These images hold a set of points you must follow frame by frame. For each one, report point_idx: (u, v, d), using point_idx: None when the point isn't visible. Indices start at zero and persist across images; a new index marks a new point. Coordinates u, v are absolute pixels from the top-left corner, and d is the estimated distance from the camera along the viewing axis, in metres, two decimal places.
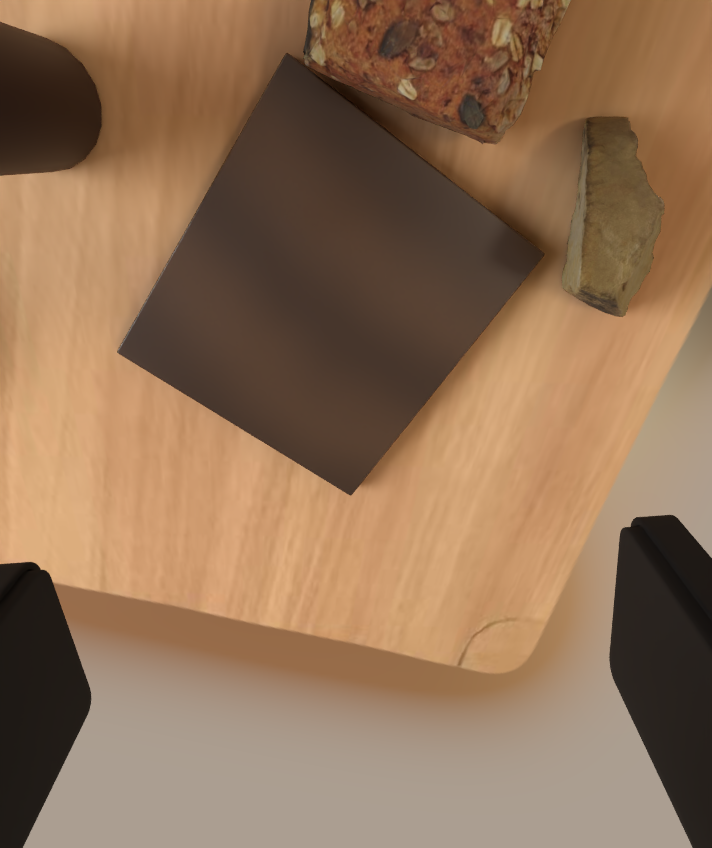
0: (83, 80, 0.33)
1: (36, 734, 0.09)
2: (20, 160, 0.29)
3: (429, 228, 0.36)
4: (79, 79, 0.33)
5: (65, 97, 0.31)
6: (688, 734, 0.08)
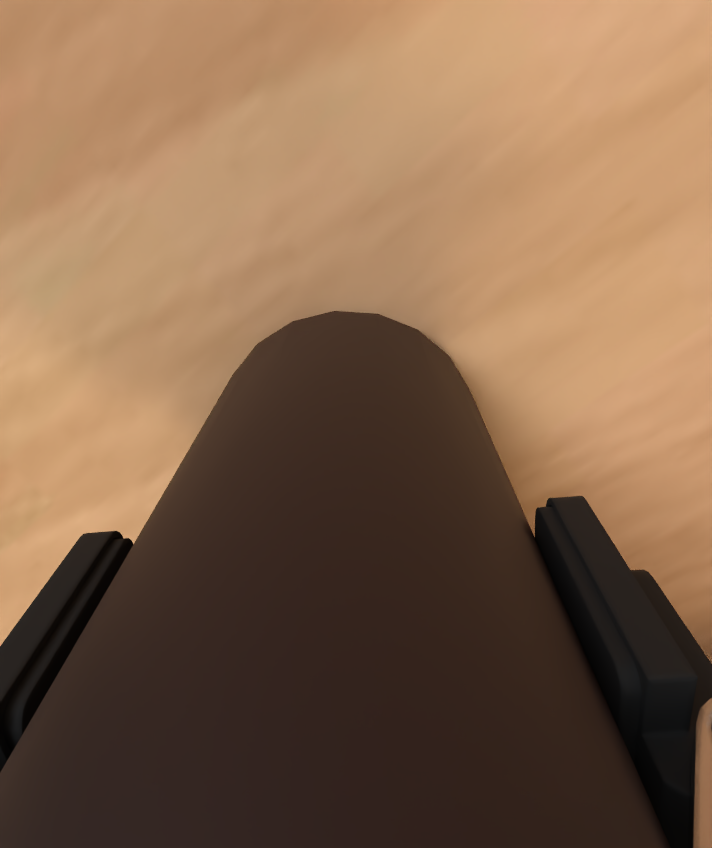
0: None
1: None
2: None
3: None
4: None
5: None
6: None
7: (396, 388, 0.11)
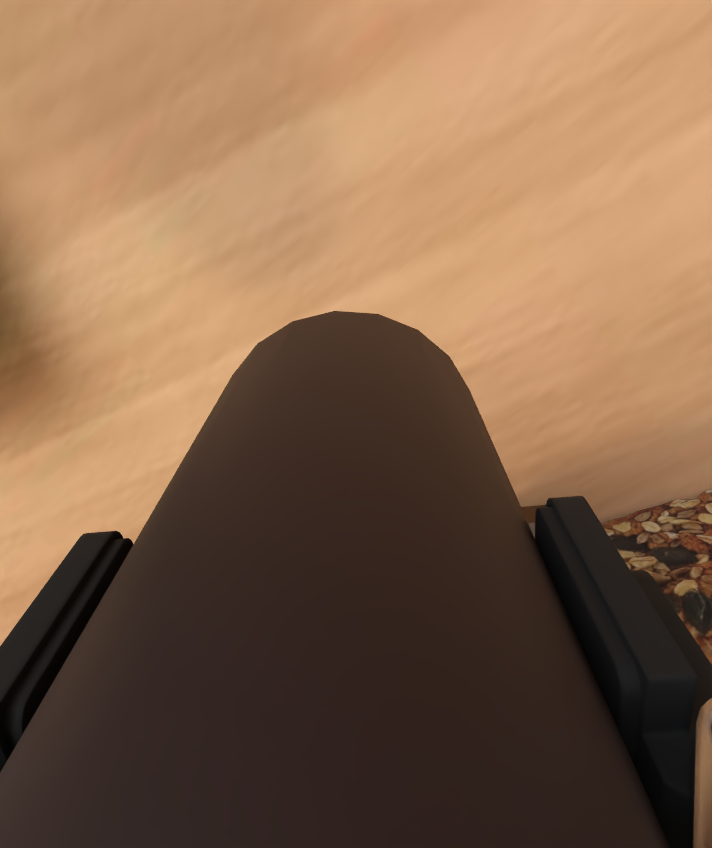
0: None
1: None
2: None
3: None
4: None
5: None
6: None
7: (396, 387, 0.11)
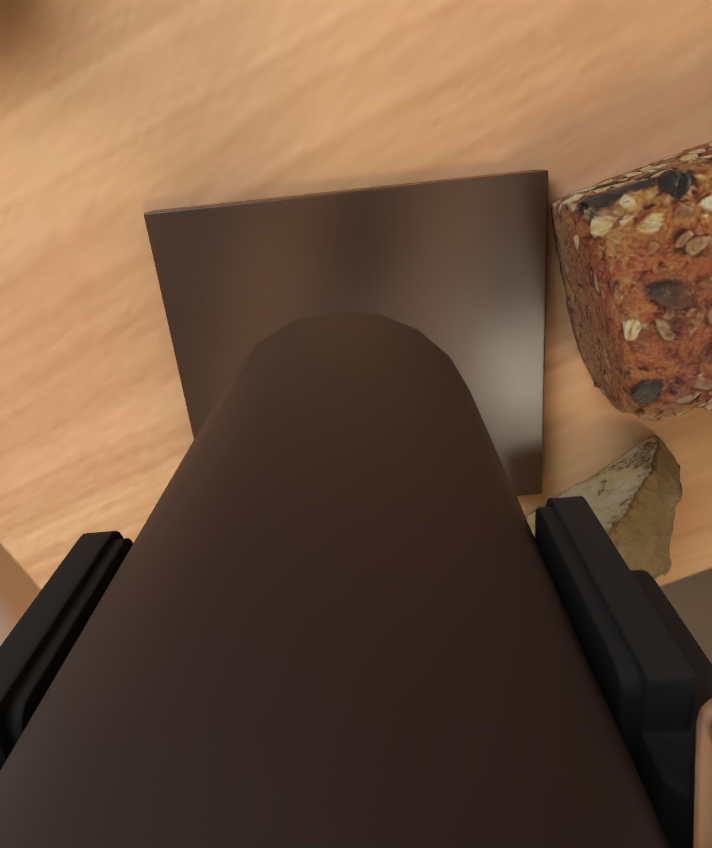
0: None
1: None
2: None
3: (494, 397, 0.35)
4: None
5: None
6: None
7: (396, 387, 0.11)
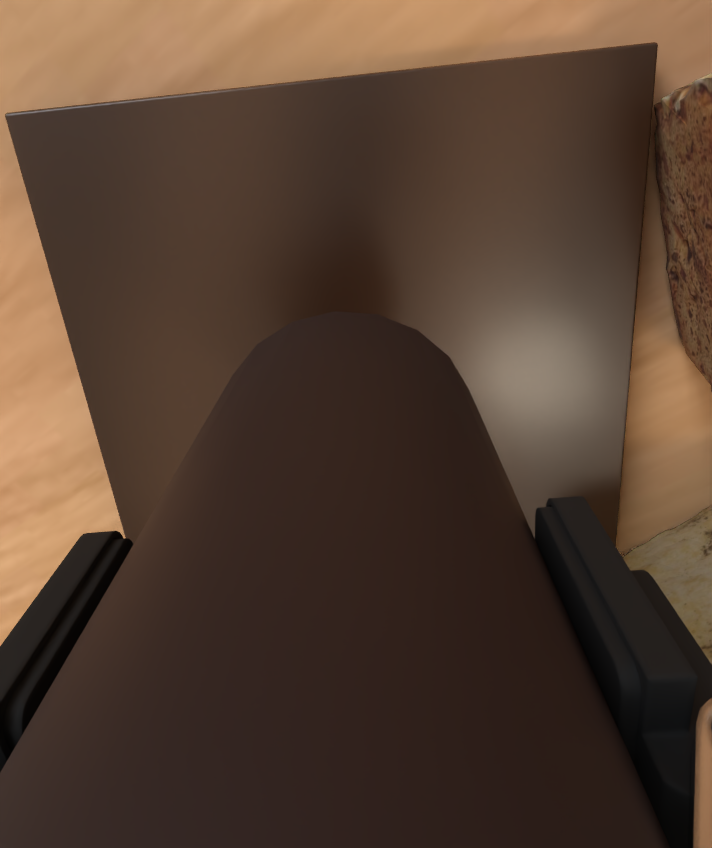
0: None
1: None
2: None
3: (553, 409, 0.23)
4: None
5: None
6: None
7: (396, 388, 0.11)
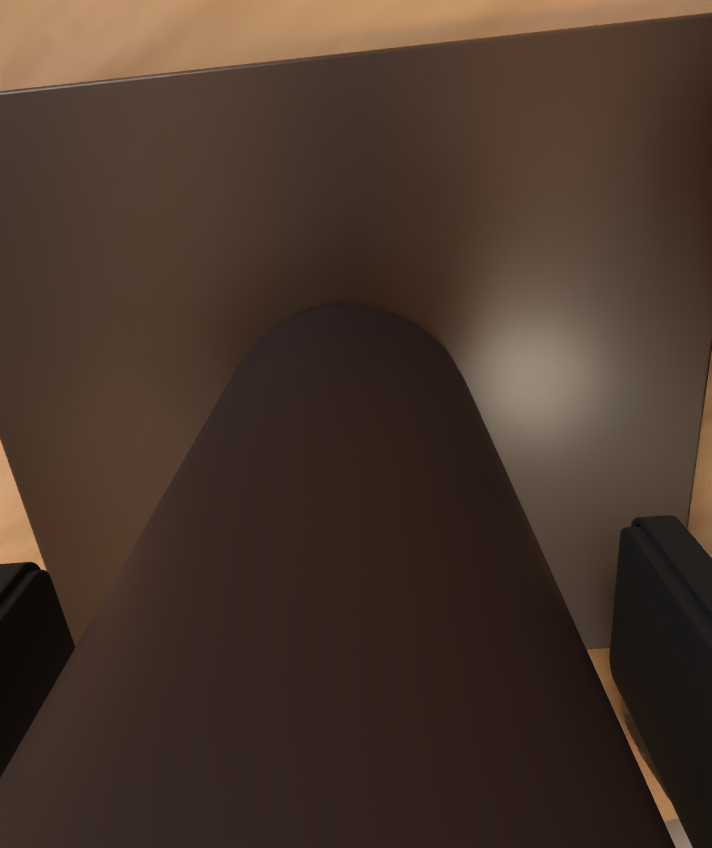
0: None
1: None
2: None
3: (600, 480, 0.18)
4: None
5: None
6: (688, 734, 0.08)
7: (395, 374, 0.11)
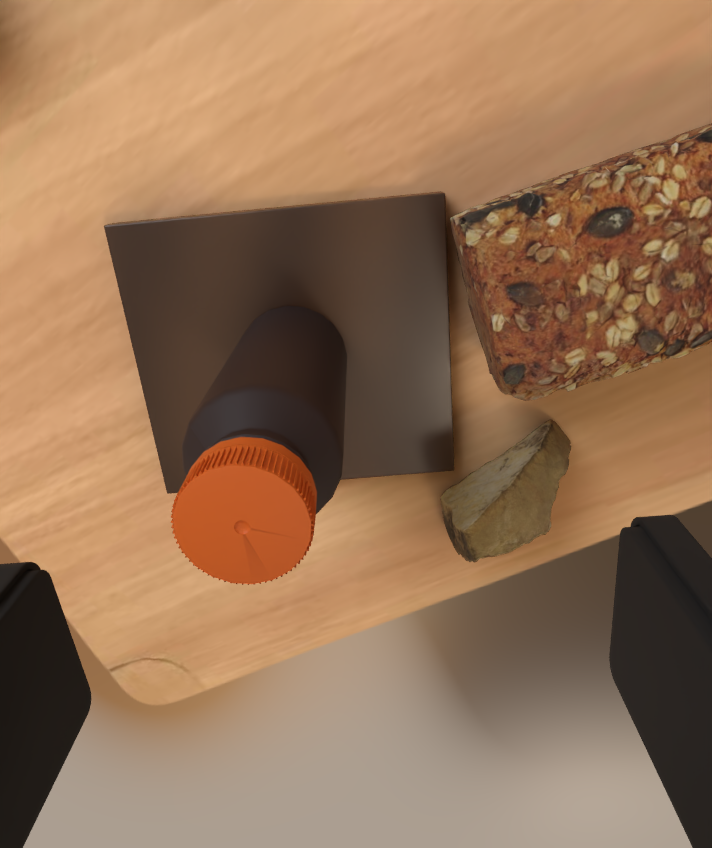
0: None
1: (36, 734, 0.09)
2: None
3: (408, 385, 0.41)
4: None
5: None
6: (688, 734, 0.08)
7: (301, 328, 0.34)
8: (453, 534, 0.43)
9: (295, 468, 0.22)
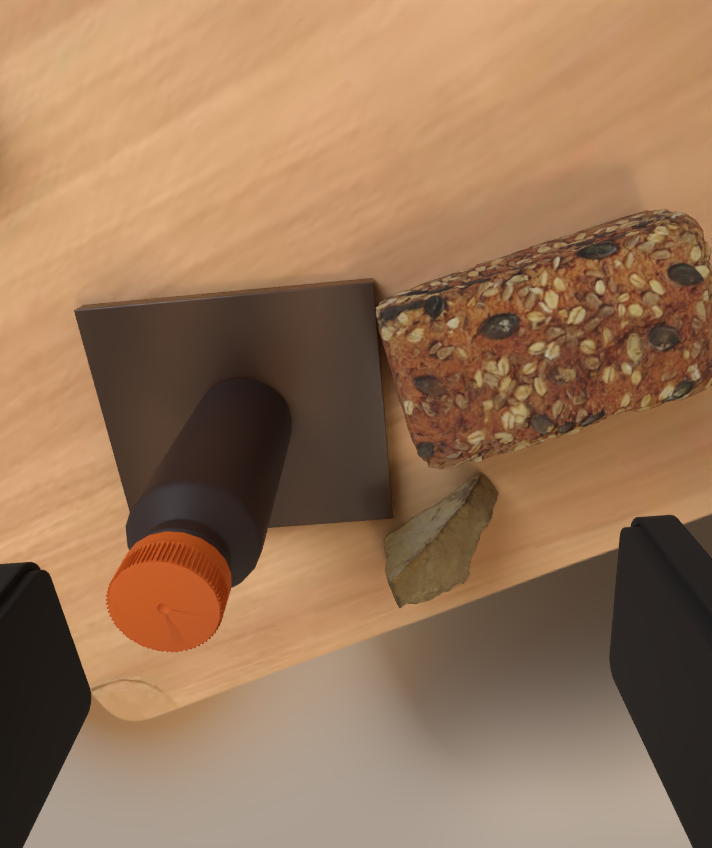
0: None
1: (36, 734, 0.09)
2: None
3: (349, 445, 0.45)
4: None
5: None
6: (688, 734, 0.08)
7: (242, 407, 0.38)
8: None
9: (208, 559, 0.27)
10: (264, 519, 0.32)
